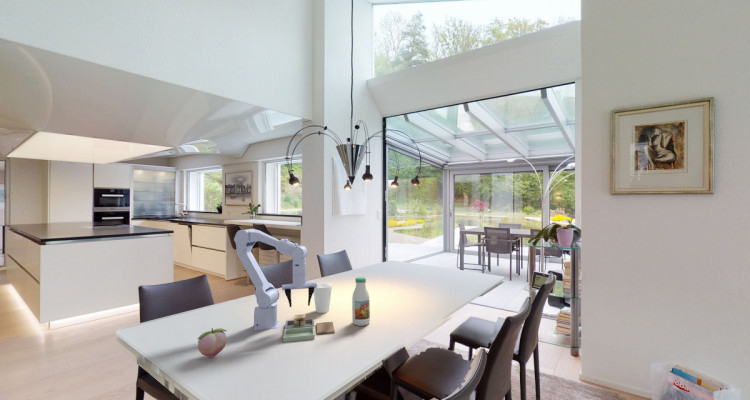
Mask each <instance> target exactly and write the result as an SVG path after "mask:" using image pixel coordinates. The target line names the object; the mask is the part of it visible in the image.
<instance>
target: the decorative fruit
mask: <svg viewBox="0 0 750 400" xmlns="http://www.w3.org/2000/svg"><path fill="white" fill-rule="evenodd" d="M225 332H227V330H226V328H225V329H224V328H216V329H213V327H212V328H211V330H208V331H205V332H203V333H201V334H200V335H199V336H198V337H197V340H198V341H197V349H198V351H199V353H200V354H201V355H203V356H205V357H208V358H213V357H215V356H217V355H218V354H220V353H221V352H222V351H223V350H224V349H225V348H226V345H227V343H228V337H227V334H226V333H225Z"/></svg>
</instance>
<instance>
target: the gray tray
mask: <svg viewBox="0 0 750 400" xmlns="http://www.w3.org/2000/svg"><path fill="white" fill-rule="evenodd" d="M303 327H314V328H315V318H312V317H311V318H305V326H297V327H294V319H289V320H286V321H285V325H284V330H285V329H292V328H303Z"/></svg>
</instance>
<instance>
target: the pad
mask: <svg viewBox="0 0 750 400" xmlns="http://www.w3.org/2000/svg"><path fill="white" fill-rule="evenodd" d="M335 332H336V331H335V325H334V322H333V321H328V322H327V321H326V322H325V321H324V322H316V335H319V336H321V335H330V334H335Z"/></svg>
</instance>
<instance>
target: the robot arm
mask: <svg viewBox="0 0 750 400" xmlns="http://www.w3.org/2000/svg"><path fill="white" fill-rule="evenodd" d="M233 241H234V242H235V247H236V249H235V250H236V254H237V256H238V258H239V260H240V262H241V264H242V265H243V267H244V270H245V271H246V273H247V275H248V276H249V278H250V280H251V282H252V284H253V286H254V288H255V292H254V295H255V298H256V303H257V305H258V306H255V307H254V311H253V331H259V330H260V331H261V330H271V329H278V326H279V323H280V322H279V320H278V300H279V299H280V292H279V290H278V289H277V288H275V286H274V285H273V284H272V283H271V282H268V279H267V278H266V276H265V274H264V273H263V271H262V269H261V267H260V265H259V263H258V262H257V260H256V258H255V257H254V254H253V253H252V249H253V247H254V245H255V244H256V243H257V242H261V243H263V244H266V245H269V246H272V247H274V248H275V249H276V251H277V252H279V253H281V254H283V255H286V256H289V257H290V258H291V260H292V283H288V284H287V283H286V284H282V285H281V291H284V293H285V296H286V298H287V301H288V304H289V308H292V305H293V304H292V290H303V289H308V298H307V299H308V300H307V306H308V307H309V306H310V305H311V299H312V297H313V295H314V293H313V292H314V288H317V284H318V283H317V282H307V256H308V254H309V250H308V248H307V247H306V246H305V245H304V244H300V245H299V244H298V243H297V242H296V243H294V242H292V241H290V240H289V238H281V239H278V238H276V237H274V236H271V235H269V234H267V233H266V232H263V231H261V229H259V230H258V229H256V228H248V229H240V230H237V231H236V233H235V235H234V237H233Z"/></svg>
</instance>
